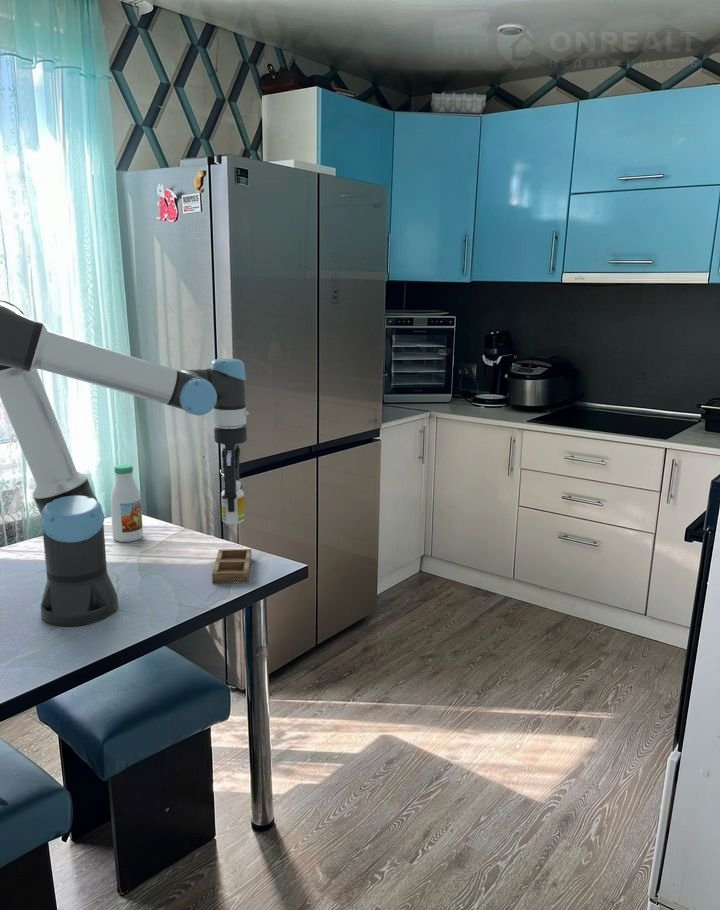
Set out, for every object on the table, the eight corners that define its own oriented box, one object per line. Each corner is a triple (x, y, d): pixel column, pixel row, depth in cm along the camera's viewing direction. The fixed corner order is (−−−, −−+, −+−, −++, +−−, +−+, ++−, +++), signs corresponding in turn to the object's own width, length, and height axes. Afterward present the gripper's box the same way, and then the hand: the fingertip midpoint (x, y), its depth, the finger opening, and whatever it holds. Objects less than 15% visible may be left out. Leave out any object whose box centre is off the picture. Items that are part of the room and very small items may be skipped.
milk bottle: (111, 543, 190) (106, 470, 185) (114, 533, 197) (109, 462, 193) (141, 541, 191) (137, 469, 187) (144, 532, 199) (139, 461, 194)
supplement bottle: (245, 517, 177) (245, 479, 175) (243, 524, 172) (242, 485, 170) (223, 516, 177) (222, 478, 175) (220, 524, 172) (219, 485, 170)
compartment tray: (247, 582, 167) (247, 572, 166) (212, 583, 166) (212, 573, 165) (251, 558, 181) (251, 549, 181) (219, 559, 181) (218, 549, 180)
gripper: (243, 433, 160) (246, 532, 166) (249, 418, 178) (251, 507, 184) (209, 433, 160) (213, 532, 165) (218, 418, 178) (221, 508, 183)
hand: (233, 519), depth 175 cm, fingers closed on supplement bottle, 5 cm apart
